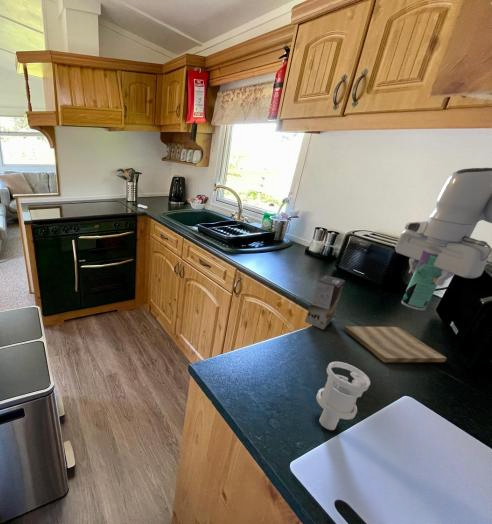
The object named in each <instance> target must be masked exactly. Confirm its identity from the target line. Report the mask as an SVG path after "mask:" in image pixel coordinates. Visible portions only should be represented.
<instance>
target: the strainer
mask: <svg viewBox="0 0 492 524" xmlns="http://www.w3.org/2000/svg"><path fill="white" fill-rule="evenodd" d="M333 368H339V369H343V370H347V371H349V372H350V373H349V375H350V376H351V378H353V379H352V380H351V382H350V381H349V377H348V376H344V375H341V374H337V373H335V372H333V370H332V369H333ZM326 374H327V377H326V378H327V380H326V382H325V385H324V387H322V388H320V389H318V392H317V394H316V397H315V398H316V402H317V404H318V405H319V406H320V407H321V408H322V409H323V411H322V412H321V415H320V417H319V418H318V419H319V424H320V425H321V426H322V427H323V428H325V429H326V430H329V431H335V430H336V428H337V426H338V424H339V421H340V420H353V419H355V417H356V415H357V413H358V407H357V405H356V403H357V400H358V398H361V397H362V396H363V393H364V392H366V391H368V389H369V387H370V386H371V380H370V377H369V376H368V375H367V374H366V373H365V372H364V371H362V370H361V369H359V368H357V366H354V365H352V364H349V363H347V362H343V361H331V362H329V364H328V365H327V368H326Z"/></svg>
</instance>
